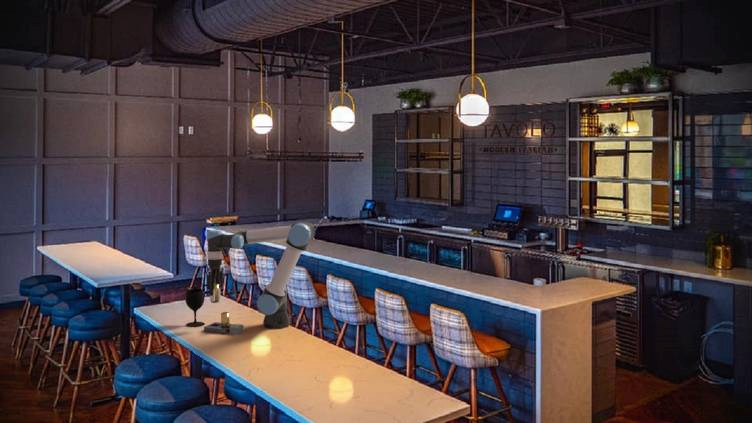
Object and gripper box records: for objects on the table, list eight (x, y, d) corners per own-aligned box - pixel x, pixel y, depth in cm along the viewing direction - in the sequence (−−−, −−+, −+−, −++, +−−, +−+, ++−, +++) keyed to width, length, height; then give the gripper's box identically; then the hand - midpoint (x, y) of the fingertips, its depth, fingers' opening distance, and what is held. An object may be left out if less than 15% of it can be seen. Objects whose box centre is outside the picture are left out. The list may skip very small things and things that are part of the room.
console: (235, 330, 351) (235, 323, 351) (243, 331, 349) (243, 324, 349) (229, 333, 345) (229, 326, 345) (237, 334, 344) (237, 327, 343)
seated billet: (224, 329, 354) (224, 311, 353) (231, 330, 352) (230, 312, 351) (219, 331, 350) (219, 313, 349) (226, 332, 348) (225, 314, 347)
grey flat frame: (215, 326, 359) (215, 322, 359) (236, 329, 355) (236, 324, 354) (203, 331, 349) (203, 326, 349) (225, 334, 344) (225, 329, 344)
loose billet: (214, 300, 355) (213, 282, 354) (220, 301, 354) (220, 283, 353) (209, 302, 351) (209, 284, 350) (216, 303, 350) (215, 284, 349)
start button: (235, 326, 349) (235, 323, 349) (240, 327, 348) (240, 323, 348) (232, 328, 346) (232, 324, 346) (237, 328, 345) (237, 325, 345)
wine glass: (201, 327, 357) (201, 292, 355) (183, 327, 357) (182, 292, 355) (206, 322, 367) (206, 288, 366) (189, 322, 368) (188, 288, 366)
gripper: (218, 255, 359) (218, 296, 362) (199, 260, 343) (199, 302, 345) (229, 256, 357) (229, 297, 359) (210, 261, 341) (211, 304, 343)
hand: (215, 299), depth 352 cm, fingers closed on loose billet, 4 cm apart
